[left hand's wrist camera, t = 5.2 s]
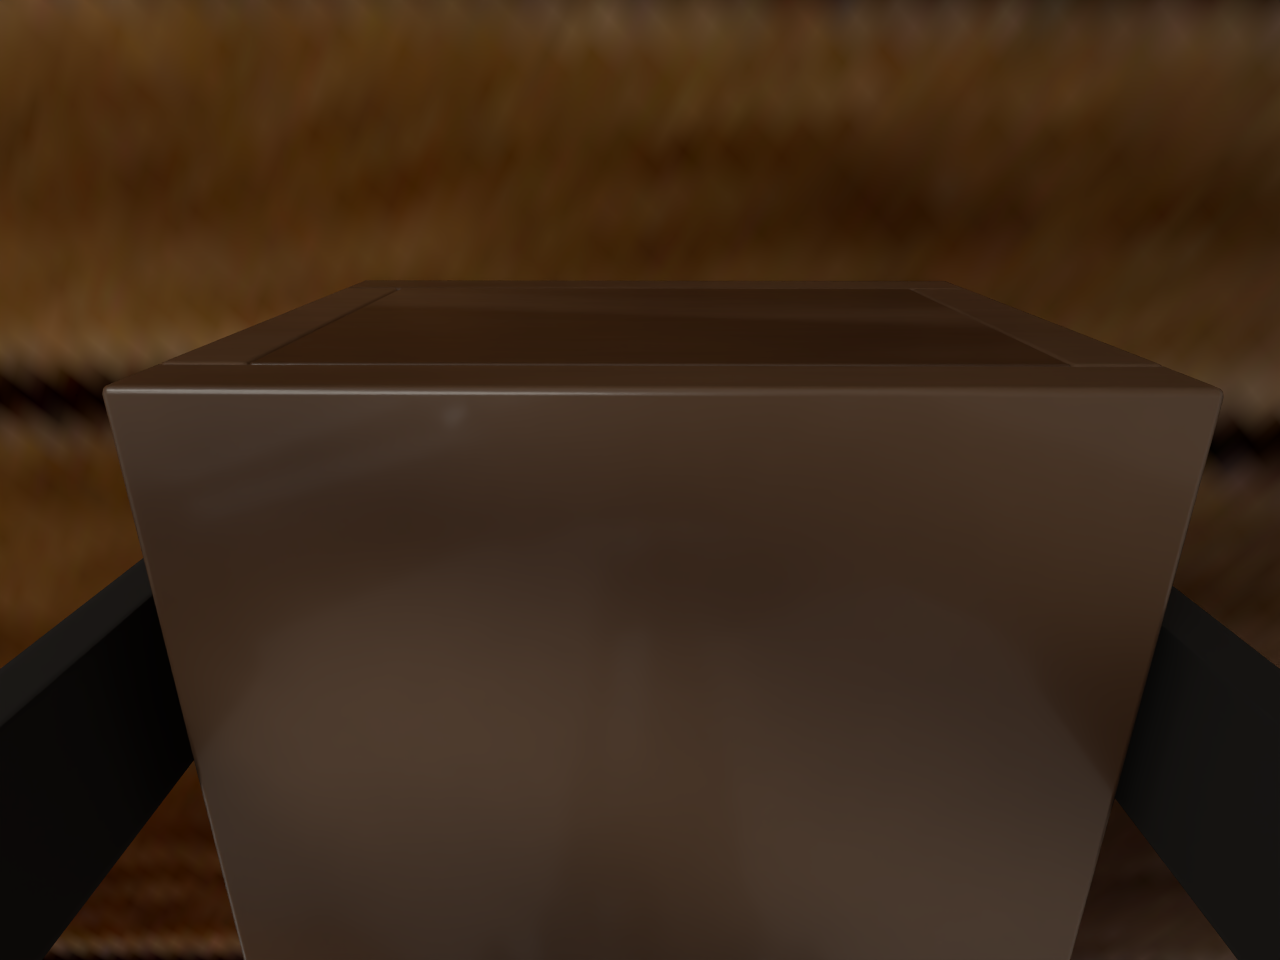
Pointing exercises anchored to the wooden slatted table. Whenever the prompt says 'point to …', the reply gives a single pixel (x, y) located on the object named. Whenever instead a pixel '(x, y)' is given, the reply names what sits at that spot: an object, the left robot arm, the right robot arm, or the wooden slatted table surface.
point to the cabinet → (660, 614)
